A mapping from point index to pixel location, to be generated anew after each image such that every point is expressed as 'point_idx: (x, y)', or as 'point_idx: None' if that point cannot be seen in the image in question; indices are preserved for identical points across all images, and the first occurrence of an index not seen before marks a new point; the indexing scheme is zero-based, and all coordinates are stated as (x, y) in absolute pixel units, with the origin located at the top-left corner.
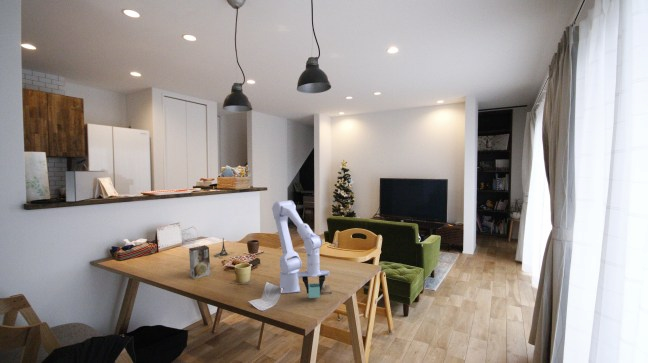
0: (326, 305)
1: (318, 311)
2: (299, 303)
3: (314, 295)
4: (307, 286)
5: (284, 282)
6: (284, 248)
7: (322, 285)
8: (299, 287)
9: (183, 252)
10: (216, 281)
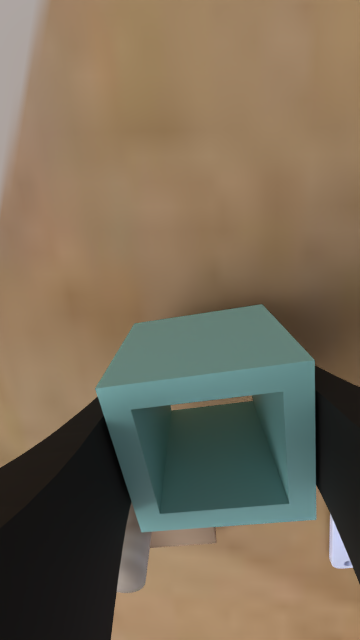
0: (67, 222)
1: (135, 64)
2: (349, 267)
3: (195, 322)
4: (347, 402)
5: None
6: None
7: (127, 527)
8: (332, 530)
9: None
10: None
